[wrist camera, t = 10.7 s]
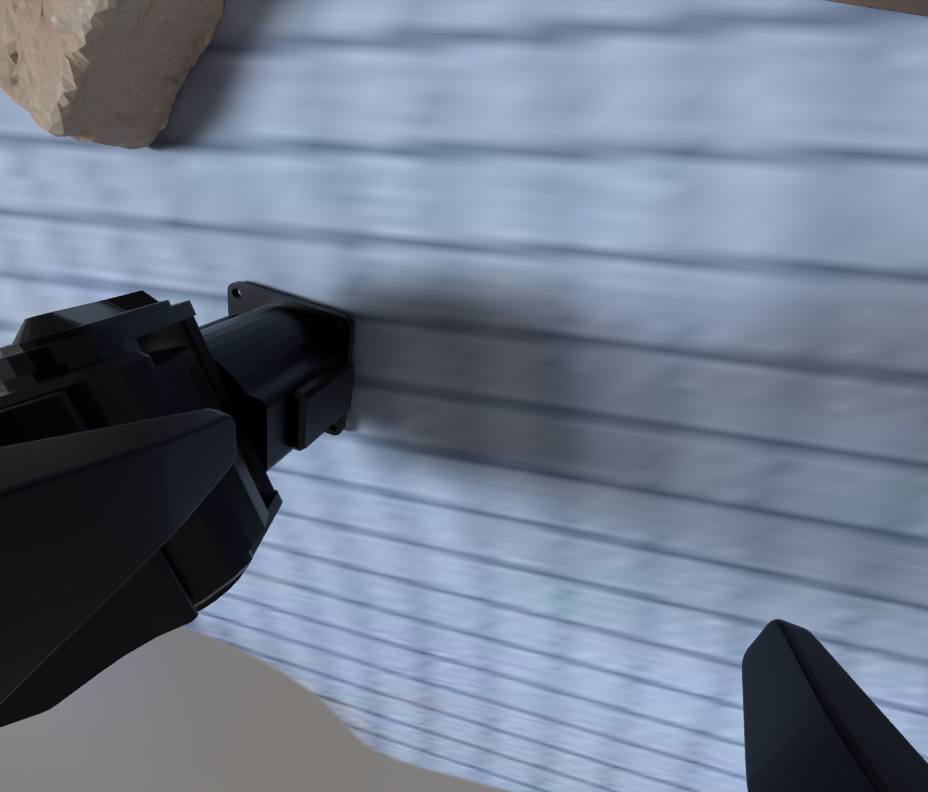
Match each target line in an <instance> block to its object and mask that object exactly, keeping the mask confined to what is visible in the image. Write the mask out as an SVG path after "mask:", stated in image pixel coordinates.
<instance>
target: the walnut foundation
mask: <svg viewBox="0 0 928 792" xmlns="http://www.w3.org/2000/svg"><path fill="white" fill-rule="evenodd" d="M829 1H835V2H841V3H847V4H854V5H860V6H866V7H873V8H879V9H885V10H891V11H898V12H904V13H910V14H916V15H923V16H928V0H829Z"/></svg>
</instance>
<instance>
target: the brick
mask: <svg viewBox="0 0 928 792" xmlns="http://www.w3.org/2000/svg"><path fill="white" fill-rule="evenodd" d="M223 5H224V0H0V89H1V90H2V91H3V92H4V93H5V94H6V95H7V96H9V97H10V98H11V99H12V100H13V101H14V102H15V103H17V104H18V105H20V106H21V107H22V108H24V109H25V110H27V111H28V112H30V114H31V116H32V117H33V119H34V120H35V122H36V124H37V125H38V126H40V127H41V128H43V129H45V130H46V131H48V132H49V133H51V134H53V135H54V136H56V137H58V136H69V137H71V138H73V139H75V140H77V141H83V142H94V143H100V144H104V145H110V146H115V147H118V146H120V147H122V148H129V149H138V148H143V147H147V146H149V145H150V144H151V143H152V142H153V141H154V140H155V139H156V138H157V137H158V134H159V132H160V130H163V129H164V128H165V127H166V125H167V124H168V122H169V116H170V112H171V111H172V105H173V103H174V102H175V101H176V94H177V93H178V92H179V90H180V88H181V86H182V85H183V84H184V82H185V81H186V75H188V73H189V69H190V68H192V67H194V66H195V64H196V62H197V60H198V58H199V55H200V54H201V53H203V52H204V51H205V49H206V48H207V47H208V45H209V44H210V42H211V40H212V38H213V35H214V32H215V29H216V27H217V25H218V22H219V20H220V18H221V16H222V13H223Z"/></svg>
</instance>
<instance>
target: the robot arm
mask: <svg viewBox="0 0 928 792" xmlns="http://www.w3.org/2000/svg"><path fill="white" fill-rule="evenodd" d="M238 290H239V291H240V292H241V296H240V294H239V293H238ZM228 312H229V316H227V317H224V318H221V319H219V320H216V321H213V322H211V323H208V324H205V325H203V326H200V327H198V324H197V322H196V320H195V318H194V315H196V313H195V311H194V309H193V307H192V304H191V302H190V300H189V301H184V302H181V303H177V304H173V305H171V304H170V302H169V300H166V301H160V302H158V301H157V300H156V299H154V298H153V297H151V296H150V295H148V294H147V293H145V292H144V291H138V292H134V293H130V294H126V295H122V296H118V297H114V298H110V299H106V300H102V301H98V302H94V303H90V304H85V305H81V306H77V307H72V308H68V309H63V310H59V311H55V312H50V313H46V314H42V315H39V316H35V317H31V318H27V319H25V320H24V322H23V324H22V326H21V328H20V330H19V332H18V334H17V336H16V338H15V339H14V341H13V343H12V344H10V345H7V346H4V347H1V348H0V727H2V726H6V725H8V724H11V723H14V722H17V721H20V720H23V719H26V718H28V717H31V716H34V715H37V714H40V713H43V712H45V711H47V710H49V709H51V708H52V707H54V706H55V705H57V704H58V703H60V702H61V701H62V700H64V699H65V698H66V697H68V696H69V695H70V694H72V693H73V692H74V691H76V690H77V689H78V688H80V687H81V686H83V685H84V684H85V683H87V682H88V681H89V680H91V679H92V678H93V677H95V676H96V675H97V674H99V673H100V672H102V671H103V670H104V669H106V668H107V667H109V666H110V665H112V664H113V663H114V662H116V661H117V660H119V659H120V658H122V657H123V656H125V655H126V654H128V653H130V652H131V651H133V650H135V649H136V648H138V647H140V646H142V645H144V644H145V643H147V642H149V641H151V640H152V639H154V638H156V637H158V636H160V635H162V634H165V633H167V632H169V631H171V630H173V629H176V628H178V627H181V626H183V625H185V624H188V623H190V622H192V621H193V620H194V619H195V618H196V617H197V616H198V611H200V610H202V609H204V608H205V607H207V606H208V605H210V604H211V603H213V602H214V601H216V600H217V599H218V598H219V597H221V596H222V595H223V594H224V593H225V592H227V591H228V590H229V589H230V588H231V587H232V586H233V585H234V584H235V583H236V582H237V581H238V580H239V578H240V577H241V576H242V574H243V573H244V571H245V570H246V568H247V567H248V566H249V564H250V562H251V560H252V558H253V555H254V553H255V552H256V550H257V548H258V546H259V544H260V543H261V541H262V539H263V537H264V535H265V533H266V532H267V530H268V528H269V526H270V524H271V523H272V521H273V519H274V517H275V515H276V513H277V512H278V510H279V508H280V506H281V504H282V499H281V497H280V495H279V493H278V491H277V490H274V488H273V486H272V484H271V482H270V480H269V477H268V475H267V473H266V472H267V471H268V470H269V469H270V468H272V467H273V466H274V465H275V464H276V463H277V462H279V461H280V460H281V459H282V458H283V457H284V456H286V455H287V454H288V453H289V452H290V451H291V450H293V449H295V450H298V451H301V450H303V449H305V448H307V447H308V446H309V445H310V444H311V443H312V442H313V441H315V440H316V439H317V438H318V437H319V436H320V435H321V434H322V433H324V432H326V433H329V434H332V435H339V434H340V433H341V432H342V431H343V430H344V429H345V426H346V416H347V411H348V410H350V407H351V398H352V387H353V377H354V364H353V361H352V351H353V340H354V330H355V325H354V321H353V319H352V318H351V317H350V316H349V315H347V314H344V313H341V312H338V311H334V310H331V309H328V308H325V307H322V306H319V305H315V304H312V303H309V302H306V301H303V300H299V299H296V298H293V297H290V296H287V295H283V294H280V293H277V292H274V291H271V290H267V289H264V288H261V287H258V286H255V285H251V284H248V283H245V282H241V281H238V282H235V283H232V284H230V285H229V286H228ZM340 321H341V322H343V323H344V325H345V328H346V329H343V328H342V327H341V326H340ZM334 423H335V424H336V425H337V427H335V426H334V425H333V424H334ZM742 685H743V711H744V738H745V763H746V778H747V788H748V792H928V763H927V762H926V761H925V760H924V759H923V758H922V757H921V755H920V754H919V753H918V752H917V751H916V750H915V749H914V748H913V746H912V745H911V744H910V743H909V742H908V741H907V740H906V739H905V737H904V736H903V735H902V734H901V733H900V732H899V731H898V730H897V728H896V727H895V726H894V725H893V724H892V723H891V722H890V721H889V719H888V718H887V717H886V716H885V715H884V714H883V713H882V712H881V711H880V709H879V708H878V707H877V706H876V705H875V704H874V703H873V702H872V700H871V699H870V698H869V697H868V696H867V695H866V694H865V693H864V691H863V690H862V689H861V688H860V687H859V686H858V685H857V684H856V682H855V681H854V680H853V679H852V678H851V677H850V676H849V675H848V673H847V672H846V671H845V670H844V669H843V668H842V667H841V666H840V665H839V663H838V662H837V661H836V660H835V659H834V658H833V657H832V656H831V654H830V653H829V652H828V651H827V650H826V649H825V648H824V647H823V645H822V644H821V643H820V642H819V641H818V640H817V639H816V638H815V636H814V635H813V634H812V633H811V632H810V631H808V630H807V629H805V628H803V627H800V626H797V625H795V624H792V623H789V622H787V621H784V620H781V619H775V620H772V621H770V622H769V623H768V624H767V626H766V627H765V628H764V629H763V631H762V632H761V633H760V634H759V636H758V637H757V638H756V639H755V640H754V642H753V643H752V644H751V645H750V647H749V648H748V649H747V651H746V652H745V655H744V657H743V662H742Z"/></svg>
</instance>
